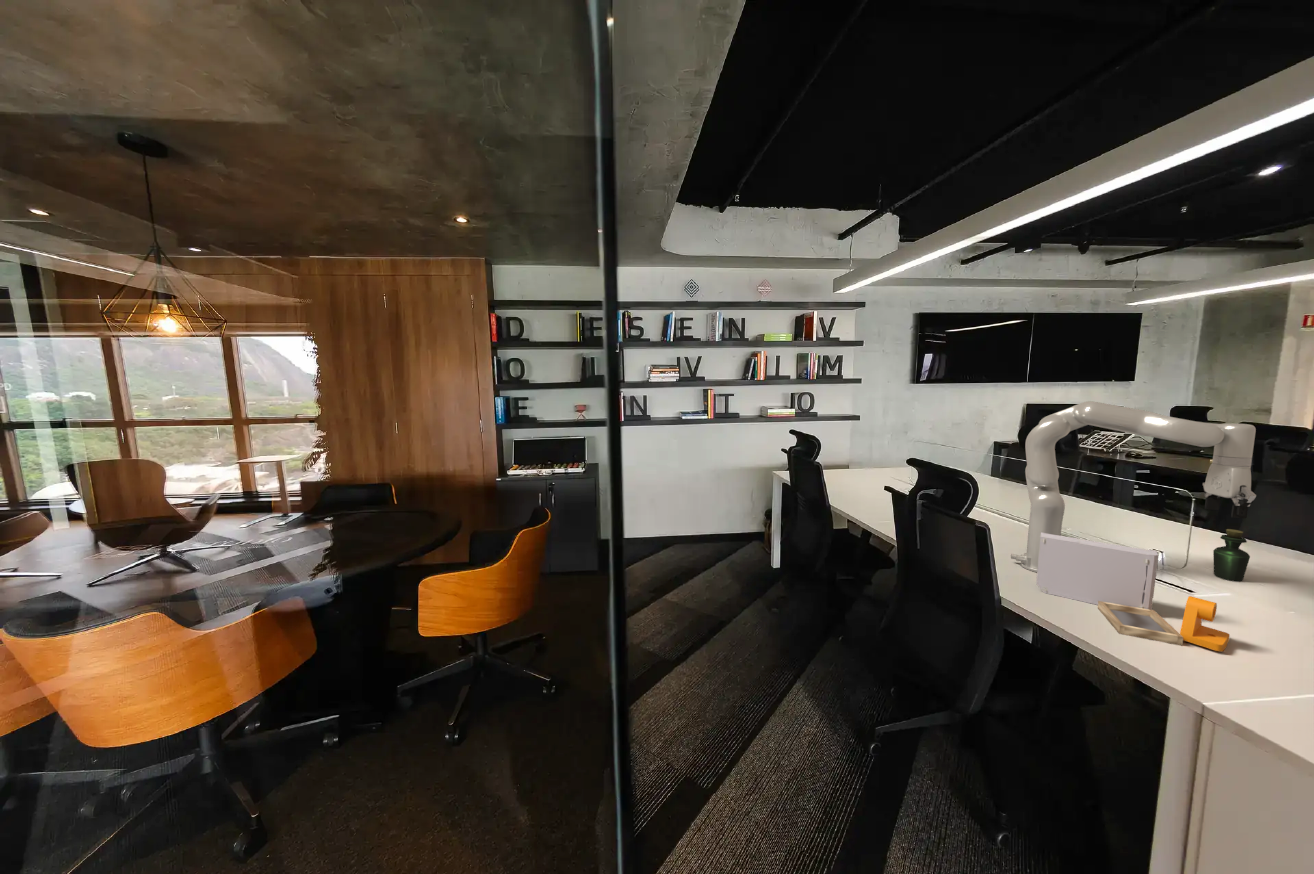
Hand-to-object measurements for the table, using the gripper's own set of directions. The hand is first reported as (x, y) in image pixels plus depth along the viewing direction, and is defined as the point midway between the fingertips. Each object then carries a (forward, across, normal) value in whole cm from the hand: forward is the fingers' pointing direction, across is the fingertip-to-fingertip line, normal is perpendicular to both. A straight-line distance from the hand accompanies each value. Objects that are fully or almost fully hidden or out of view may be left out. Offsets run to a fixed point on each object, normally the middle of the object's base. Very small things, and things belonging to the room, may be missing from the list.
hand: (1224, 513), depth 141 cm
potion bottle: (+30, -23, +19) cm, 42 cm away
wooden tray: (+29, +28, -35) cm, 53 cm away
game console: (+30, +13, -39) cm, 50 cm away
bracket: (+30, +33, -23) cm, 50 cm away
